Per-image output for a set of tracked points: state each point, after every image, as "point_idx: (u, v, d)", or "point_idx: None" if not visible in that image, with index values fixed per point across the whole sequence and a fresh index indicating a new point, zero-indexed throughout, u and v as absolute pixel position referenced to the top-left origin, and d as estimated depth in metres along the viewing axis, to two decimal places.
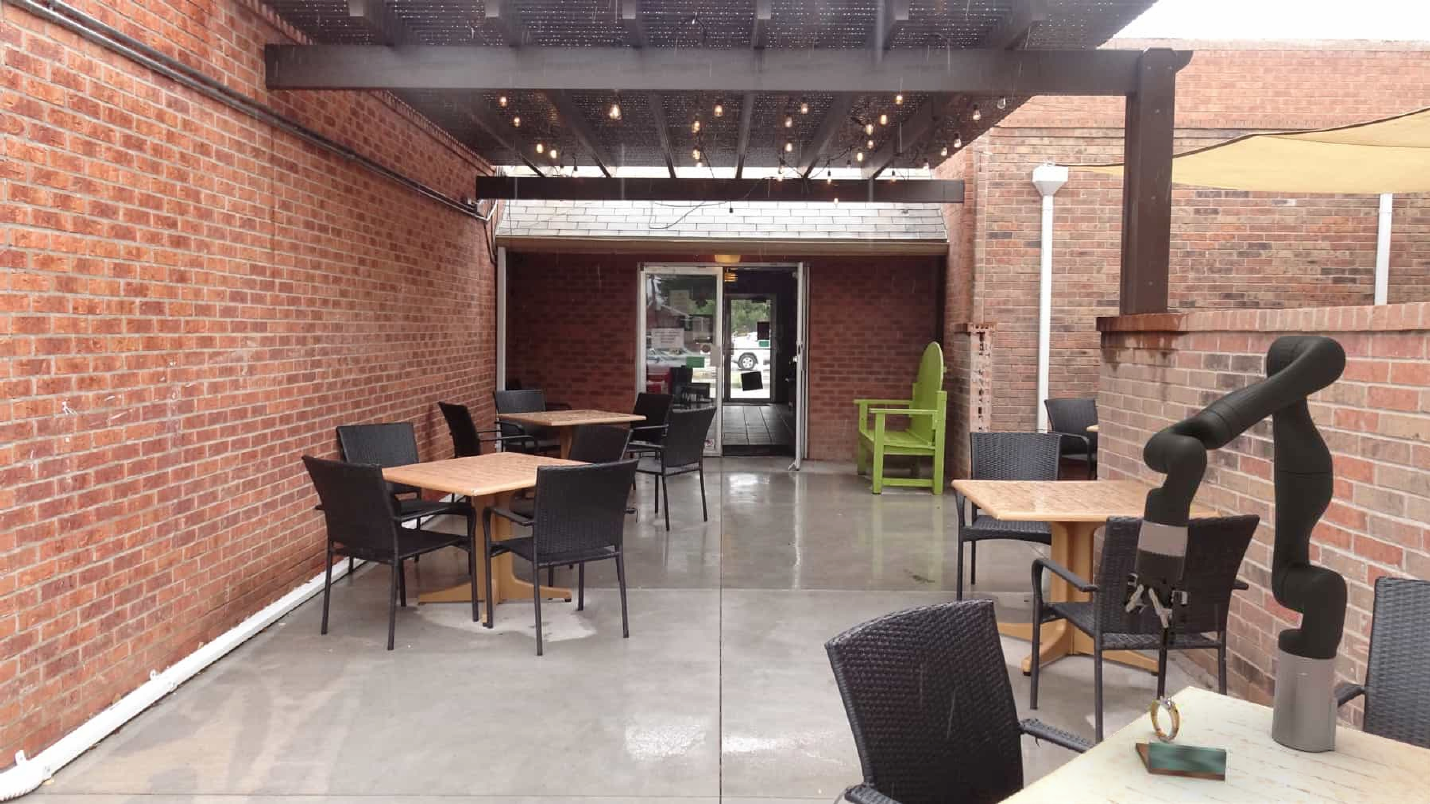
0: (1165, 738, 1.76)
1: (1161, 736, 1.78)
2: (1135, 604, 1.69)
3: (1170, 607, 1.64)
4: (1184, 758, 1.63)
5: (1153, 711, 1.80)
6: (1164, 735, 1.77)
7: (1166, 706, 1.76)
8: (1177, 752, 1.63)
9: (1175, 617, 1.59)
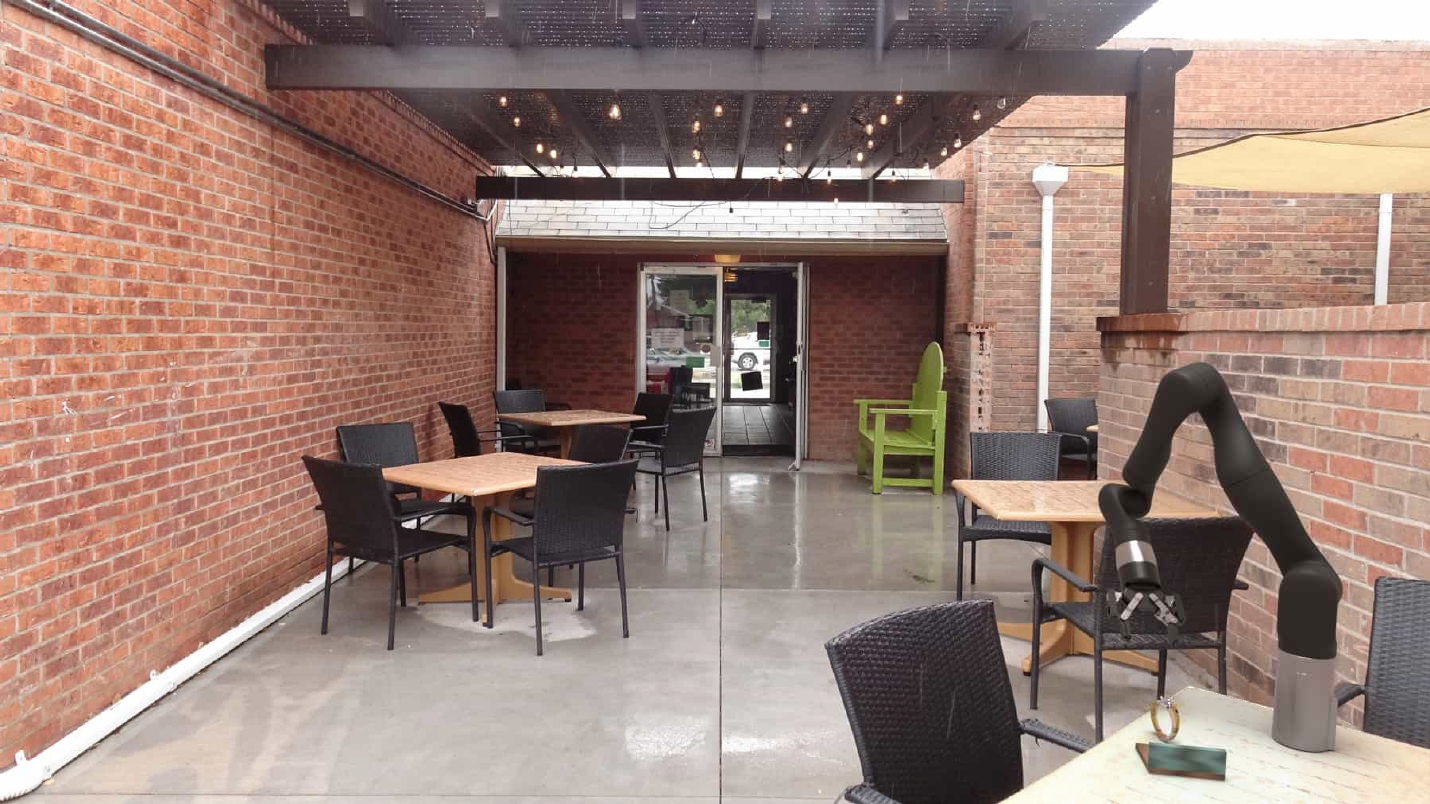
0: (1165, 738, 1.76)
1: (1161, 736, 1.78)
2: (1160, 619, 1.91)
3: None
4: (1184, 758, 1.63)
5: (1153, 711, 1.80)
6: (1164, 735, 1.77)
7: (1166, 706, 1.76)
8: (1177, 752, 1.63)
9: None
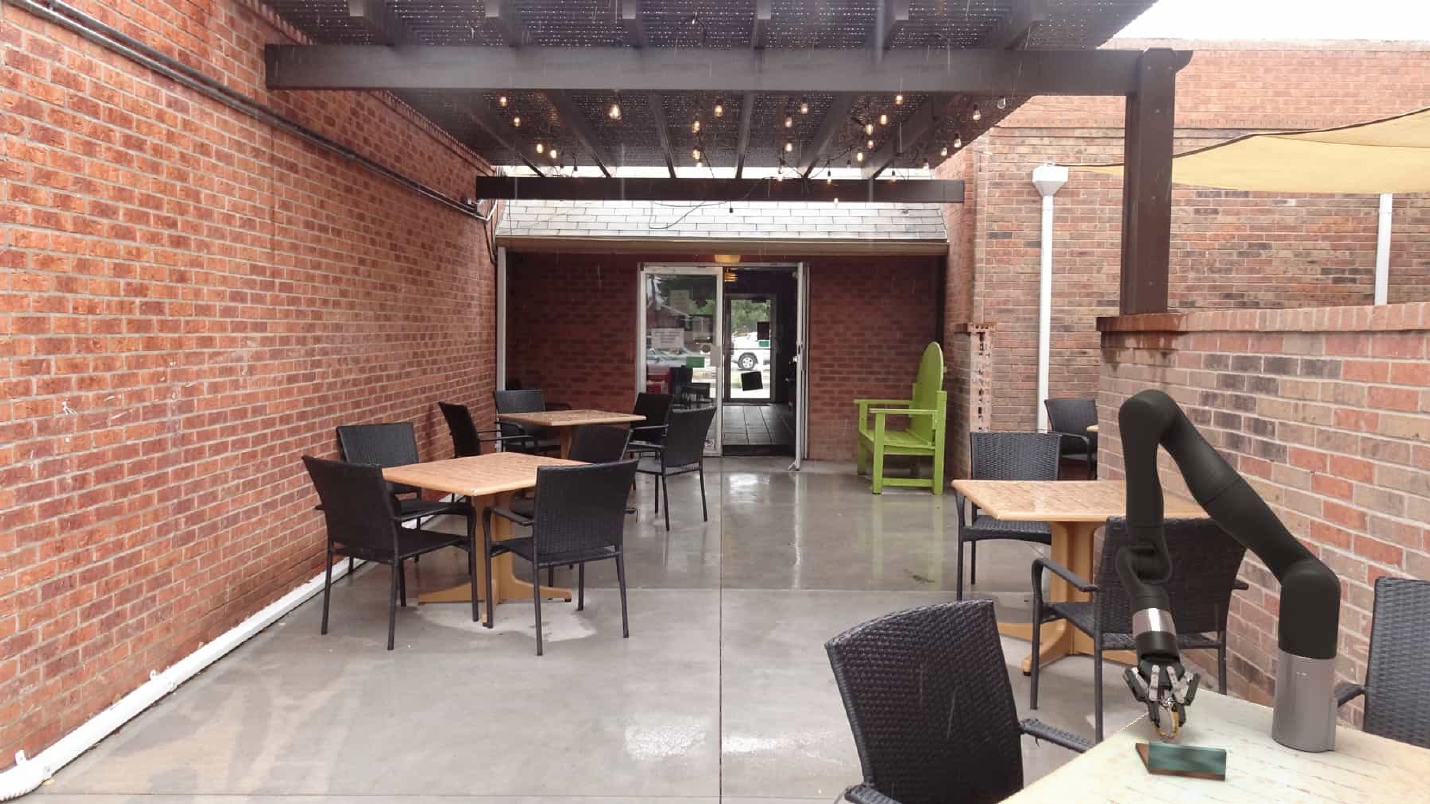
0: (1165, 738, 1.76)
1: (1161, 736, 1.78)
2: (1170, 695, 1.79)
3: None
4: (1184, 758, 1.63)
5: None
6: (1164, 735, 1.77)
7: (1166, 706, 1.76)
8: (1177, 752, 1.63)
9: None
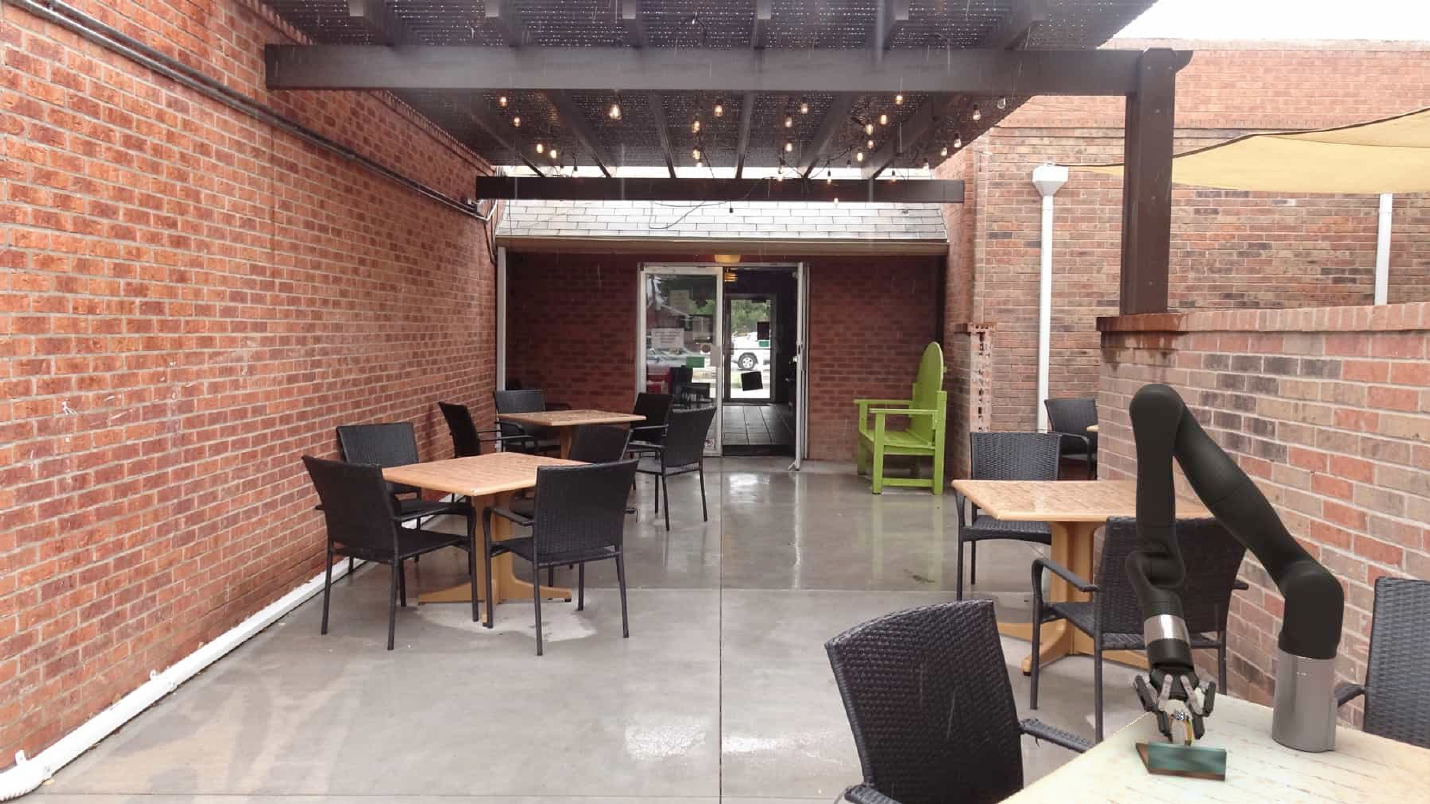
0: None
1: None
2: (1186, 706, 1.70)
3: None
4: (1184, 758, 1.63)
5: None
6: None
7: (1178, 720, 1.67)
8: (1177, 752, 1.63)
9: None
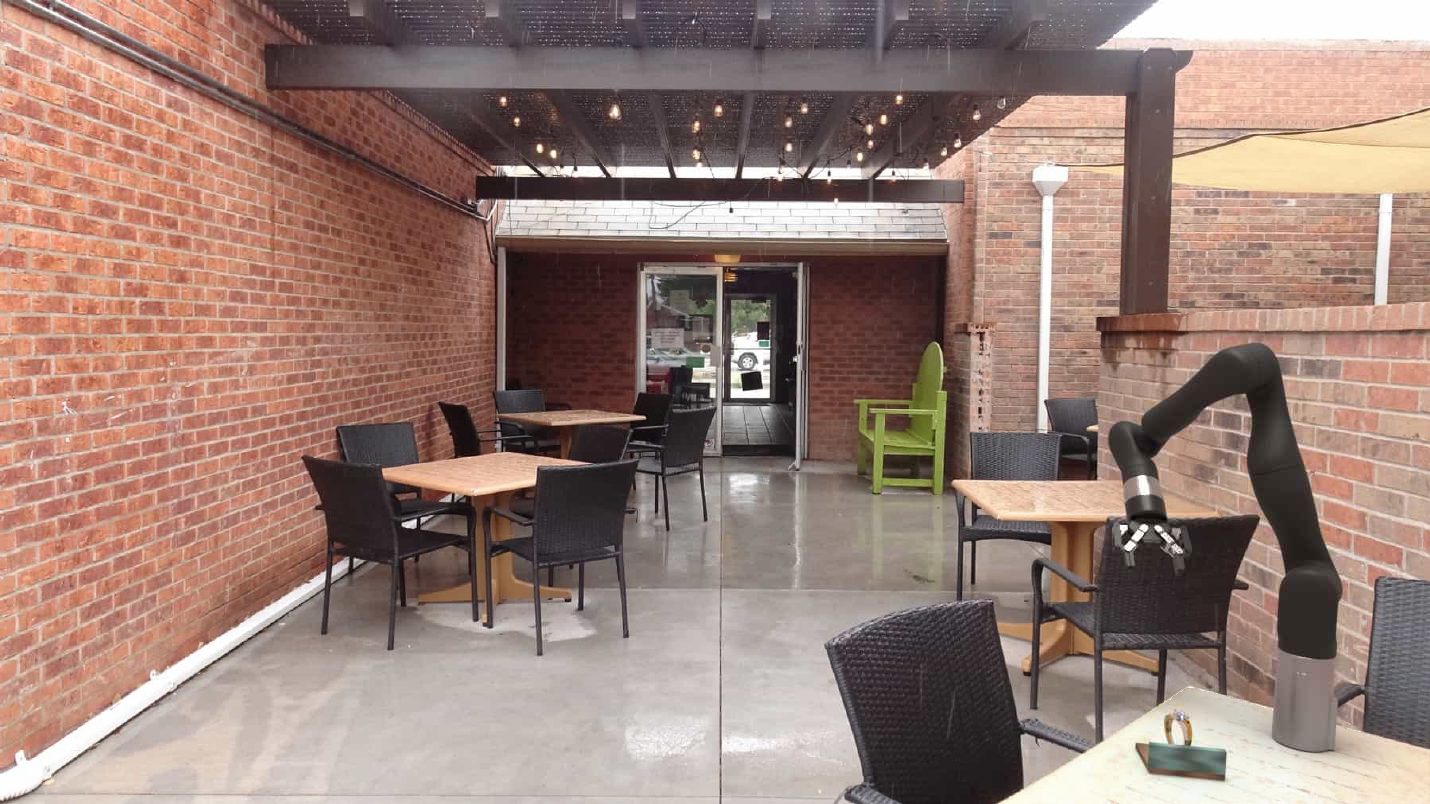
0: None
1: None
2: (1166, 551, 1.91)
3: None
4: (1184, 758, 1.63)
5: (1167, 725, 1.72)
6: None
7: (1178, 720, 1.67)
8: (1177, 752, 1.63)
9: (1113, 546, 1.93)
